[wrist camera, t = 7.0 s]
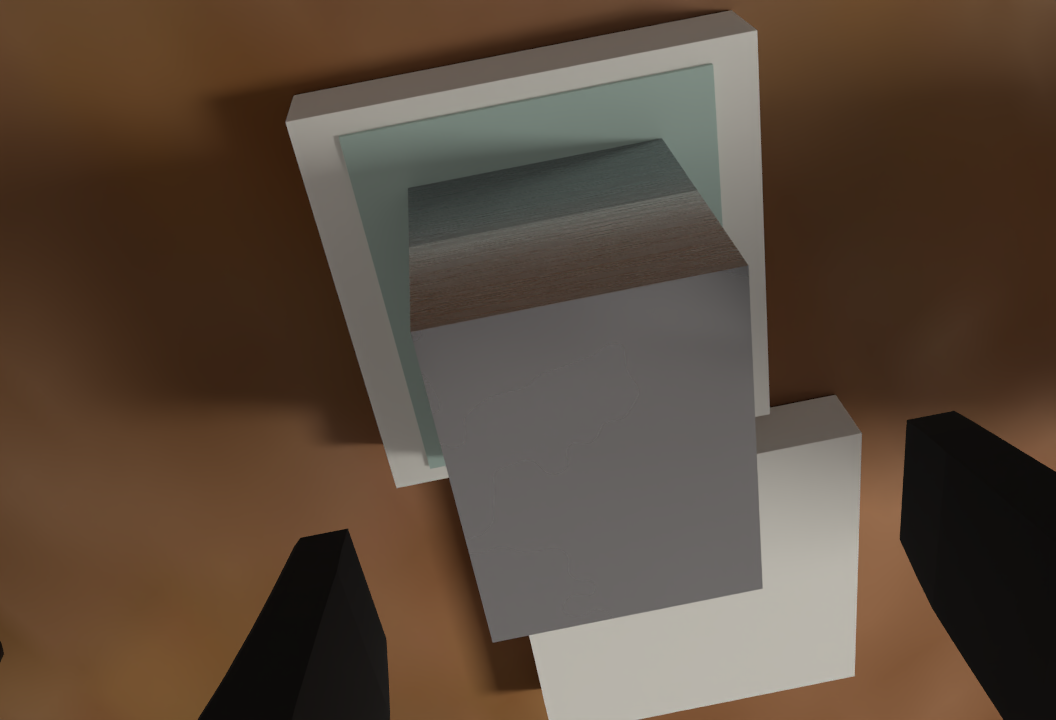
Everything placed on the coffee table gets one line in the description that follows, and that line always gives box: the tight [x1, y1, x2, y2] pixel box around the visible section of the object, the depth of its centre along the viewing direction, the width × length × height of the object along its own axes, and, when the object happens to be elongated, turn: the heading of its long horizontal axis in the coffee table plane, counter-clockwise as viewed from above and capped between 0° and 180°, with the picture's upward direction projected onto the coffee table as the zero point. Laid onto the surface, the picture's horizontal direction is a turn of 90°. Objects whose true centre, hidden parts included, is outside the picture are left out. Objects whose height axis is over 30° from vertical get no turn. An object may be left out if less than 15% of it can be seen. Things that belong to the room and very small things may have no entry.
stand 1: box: [285, 10, 770, 488], centre depth 19 cm, size 8×8×2 cm
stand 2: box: [529, 395, 862, 720], centre depth 24 cm, size 8×8×2 cm
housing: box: [408, 138, 763, 642], centre depth 16 cm, size 4×6×5 cm
